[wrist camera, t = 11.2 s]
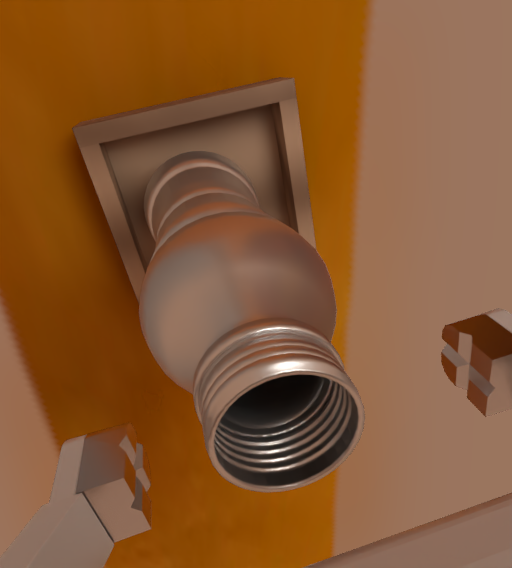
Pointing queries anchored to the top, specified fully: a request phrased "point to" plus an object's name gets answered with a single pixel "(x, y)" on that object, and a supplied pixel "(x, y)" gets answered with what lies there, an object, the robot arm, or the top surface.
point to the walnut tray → (198, 137)
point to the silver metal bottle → (245, 327)
